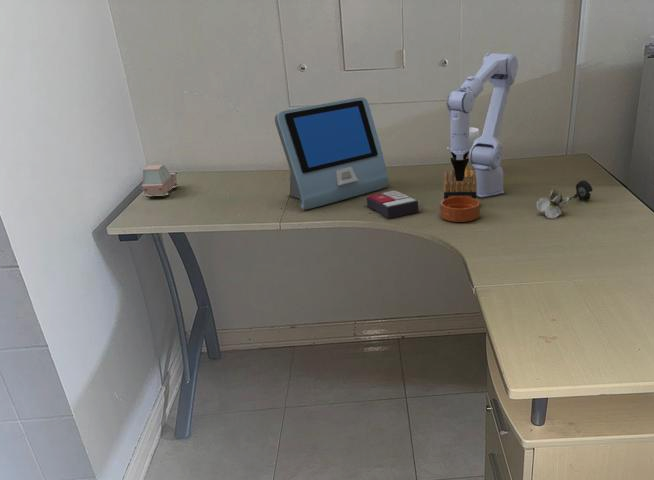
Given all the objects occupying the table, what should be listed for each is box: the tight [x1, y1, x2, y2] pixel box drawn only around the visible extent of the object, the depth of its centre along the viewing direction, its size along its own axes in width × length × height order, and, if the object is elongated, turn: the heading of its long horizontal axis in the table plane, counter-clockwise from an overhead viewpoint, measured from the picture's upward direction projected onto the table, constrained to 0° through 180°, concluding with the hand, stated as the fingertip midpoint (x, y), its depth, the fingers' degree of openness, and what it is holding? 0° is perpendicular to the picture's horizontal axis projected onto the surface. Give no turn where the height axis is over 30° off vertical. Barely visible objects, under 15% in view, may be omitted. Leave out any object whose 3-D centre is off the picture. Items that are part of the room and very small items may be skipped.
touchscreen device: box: [274, 97, 389, 211], centre depth 214 cm, size 35×20×30 cm, turn 131°
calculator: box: [366, 190, 419, 219], centre depth 205 cm, size 11×4×15 cm
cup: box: [465, 126, 480, 178], centre depth 234 cm, size 9×9×16 cm
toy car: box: [141, 164, 178, 197], centre depth 226 cm, size 9×15×10 cm, turn 1°
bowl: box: [439, 196, 481, 223], centre depth 197 cm, size 12×12×4 cm
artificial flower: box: [535, 180, 594, 219], centre depth 201 cm, size 9×22×10 cm, turn 129°
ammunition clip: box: [443, 169, 478, 200], centre depth 204 cm, size 11×2×12 cm, turn 87°
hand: (459, 177), depth 202 cm, fingers open, 7 cm apart
